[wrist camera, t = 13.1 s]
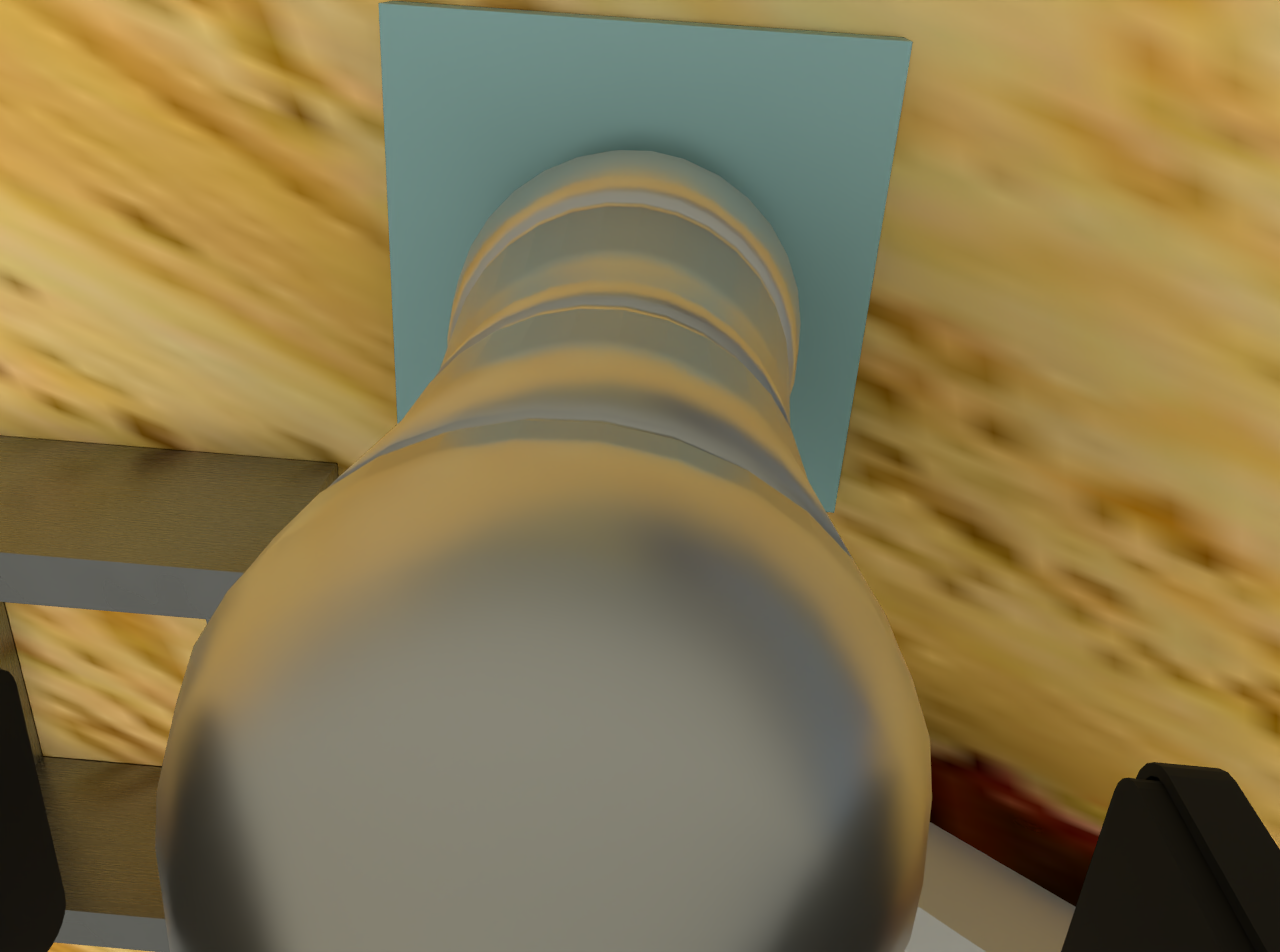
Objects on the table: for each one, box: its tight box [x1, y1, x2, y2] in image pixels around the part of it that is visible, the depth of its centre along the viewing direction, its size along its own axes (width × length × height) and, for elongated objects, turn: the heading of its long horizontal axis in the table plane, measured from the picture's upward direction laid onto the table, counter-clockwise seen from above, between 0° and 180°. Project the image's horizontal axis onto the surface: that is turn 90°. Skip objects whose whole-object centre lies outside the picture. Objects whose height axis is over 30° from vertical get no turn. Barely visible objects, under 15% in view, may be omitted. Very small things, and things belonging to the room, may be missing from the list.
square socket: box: [0, 436, 338, 952], centre depth 26 cm, size 11×10×5 cm
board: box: [379, 1, 913, 513], centre depth 22 cm, size 10×10×1 cm
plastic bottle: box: [155, 150, 932, 952], centre depth 13 cm, size 6×7×20 cm
